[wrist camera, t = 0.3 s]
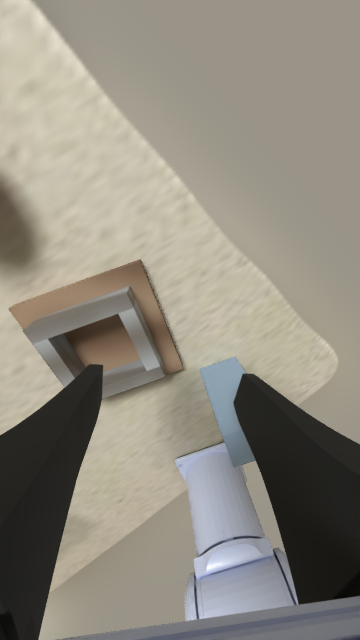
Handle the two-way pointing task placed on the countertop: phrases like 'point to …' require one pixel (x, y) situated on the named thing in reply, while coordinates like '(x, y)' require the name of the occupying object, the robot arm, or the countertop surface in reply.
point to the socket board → (102, 329)
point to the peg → (227, 407)
